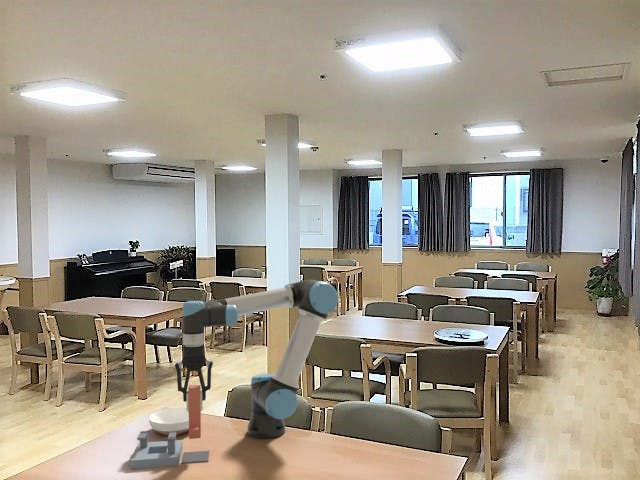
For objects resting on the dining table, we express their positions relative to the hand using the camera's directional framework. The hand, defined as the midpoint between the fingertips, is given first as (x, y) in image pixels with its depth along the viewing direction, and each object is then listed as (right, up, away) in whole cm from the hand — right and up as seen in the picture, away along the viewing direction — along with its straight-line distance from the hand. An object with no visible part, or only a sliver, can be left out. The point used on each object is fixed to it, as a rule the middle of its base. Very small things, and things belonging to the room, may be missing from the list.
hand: (194, 409), depth 204 cm
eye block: (-13, -17, 0) cm, 22 cm away
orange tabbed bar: (0, -10, 0) cm, 10 cm away
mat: (0, -17, 0) cm, 17 cm away
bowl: (-15, -17, +28) cm, 36 cm away
